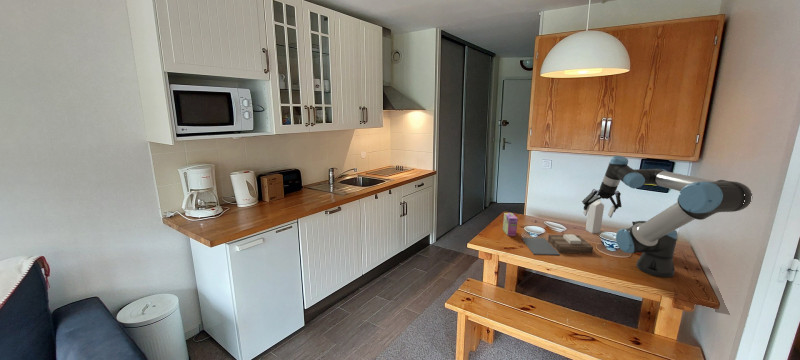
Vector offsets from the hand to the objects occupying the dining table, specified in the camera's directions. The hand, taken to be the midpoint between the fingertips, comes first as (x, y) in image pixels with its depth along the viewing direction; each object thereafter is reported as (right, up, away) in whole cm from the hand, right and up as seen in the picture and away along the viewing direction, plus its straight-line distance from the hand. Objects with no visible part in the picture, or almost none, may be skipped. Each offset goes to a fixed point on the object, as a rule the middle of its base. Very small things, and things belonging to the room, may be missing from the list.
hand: (596, 215), depth 186 cm
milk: (+13, -14, +27) cm, 33 cm away
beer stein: (+27, -21, -2) cm, 34 cm away
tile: (-13, -15, +3) cm, 20 cm away
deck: (-14, -19, +4) cm, 24 cm away
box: (-42, -14, +25) cm, 51 cm away
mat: (-31, -19, +5) cm, 36 cm away
